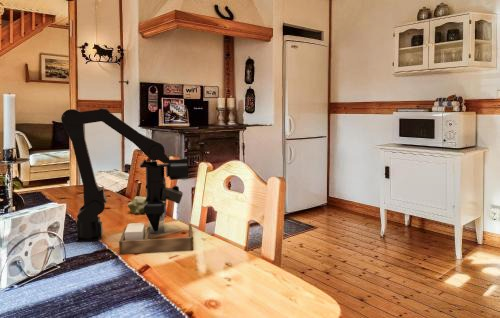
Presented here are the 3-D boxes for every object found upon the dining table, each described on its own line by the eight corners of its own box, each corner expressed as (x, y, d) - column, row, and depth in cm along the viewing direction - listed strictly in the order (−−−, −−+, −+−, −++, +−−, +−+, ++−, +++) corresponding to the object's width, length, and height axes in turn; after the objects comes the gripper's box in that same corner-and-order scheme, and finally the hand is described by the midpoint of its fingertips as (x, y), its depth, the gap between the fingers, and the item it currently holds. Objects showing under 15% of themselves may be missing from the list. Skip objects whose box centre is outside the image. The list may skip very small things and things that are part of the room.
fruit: (158, 214, 159) (159, 195, 157) (140, 221, 151) (141, 201, 149) (141, 206, 163) (142, 188, 161) (123, 213, 156) (123, 194, 153)
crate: (119, 254, 111) (119, 241, 110) (125, 238, 125) (125, 227, 124) (193, 249, 114) (193, 237, 114) (191, 234, 128) (191, 224, 128)
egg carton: (125, 251, 114) (124, 232, 113) (128, 241, 122) (128, 223, 122) (142, 250, 114) (142, 231, 114) (145, 240, 123) (144, 222, 122)
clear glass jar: (147, 235, 128) (147, 216, 127) (149, 230, 133) (148, 212, 132) (164, 234, 129) (164, 215, 128) (164, 229, 134) (164, 211, 133)
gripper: (181, 185, 121) (182, 235, 123) (180, 175, 140) (181, 219, 141) (142, 186, 119) (144, 237, 121) (147, 176, 138) (148, 221, 139)
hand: (156, 228), depth 131 cm, fingers open, 6 cm apart
